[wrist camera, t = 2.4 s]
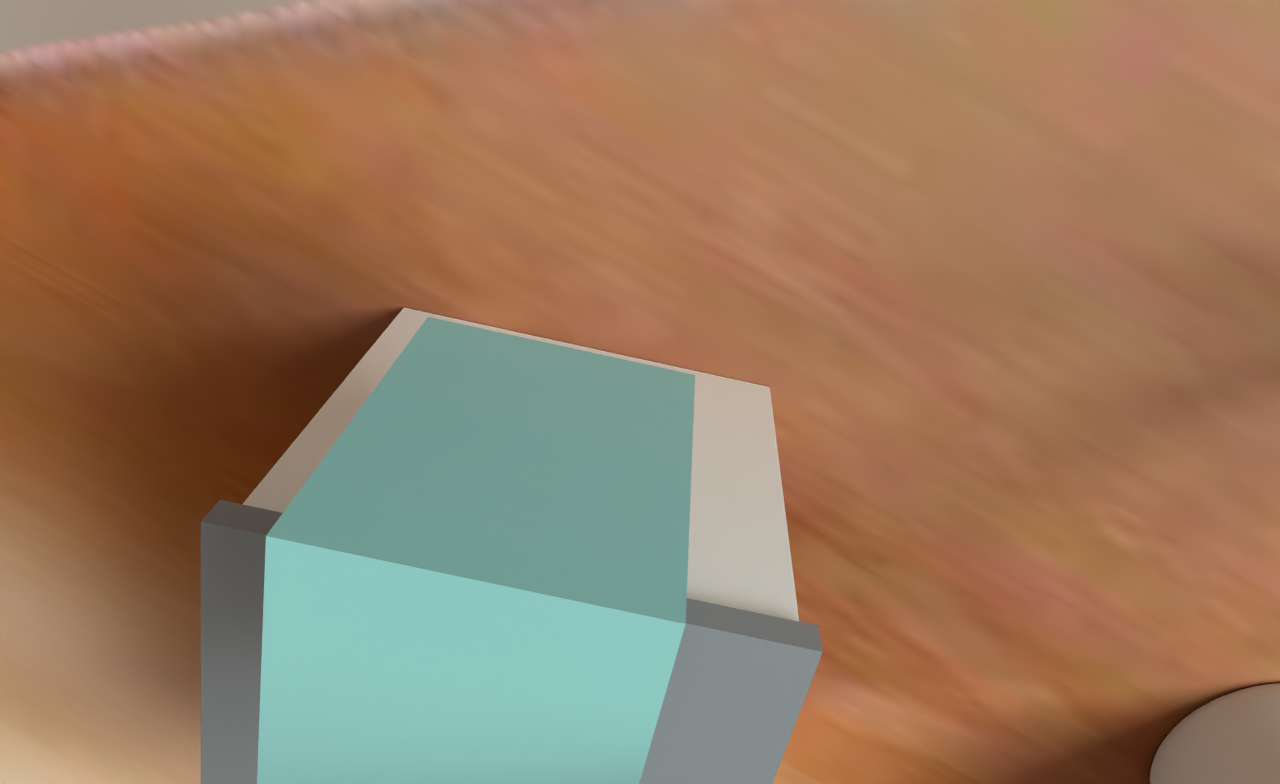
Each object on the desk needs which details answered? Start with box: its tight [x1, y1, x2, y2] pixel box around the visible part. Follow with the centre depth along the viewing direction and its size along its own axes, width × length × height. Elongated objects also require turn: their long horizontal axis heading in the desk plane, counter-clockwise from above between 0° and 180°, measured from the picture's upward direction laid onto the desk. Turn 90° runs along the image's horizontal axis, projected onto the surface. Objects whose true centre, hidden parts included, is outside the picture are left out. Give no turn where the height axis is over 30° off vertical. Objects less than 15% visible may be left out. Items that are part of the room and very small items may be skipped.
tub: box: [243, 308, 799, 622], centre depth 28 cm, size 12×15×12 cm
